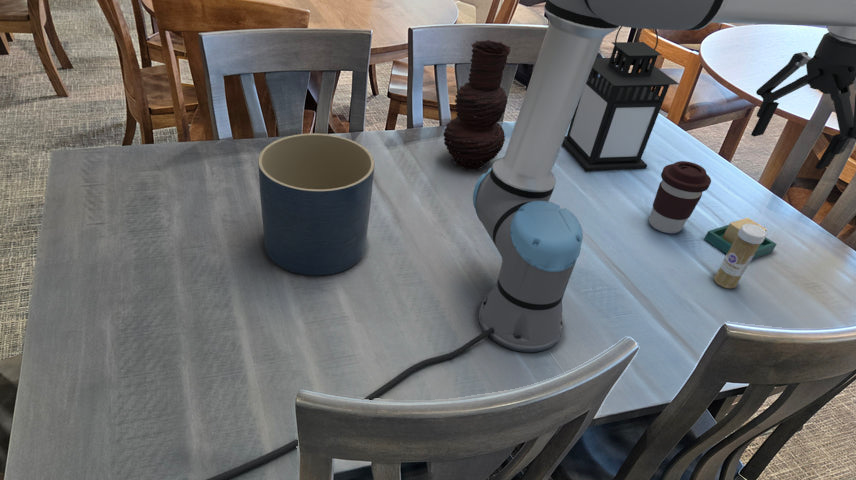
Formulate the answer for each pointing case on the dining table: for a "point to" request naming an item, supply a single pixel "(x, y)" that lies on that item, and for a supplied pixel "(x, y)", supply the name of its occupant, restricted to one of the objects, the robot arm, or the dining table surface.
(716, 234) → the green tray
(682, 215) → the coffee cup
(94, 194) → the dining table surface
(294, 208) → the planter
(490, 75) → the vase
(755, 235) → the sprinkles bottle
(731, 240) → the tan block
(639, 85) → the lantern
